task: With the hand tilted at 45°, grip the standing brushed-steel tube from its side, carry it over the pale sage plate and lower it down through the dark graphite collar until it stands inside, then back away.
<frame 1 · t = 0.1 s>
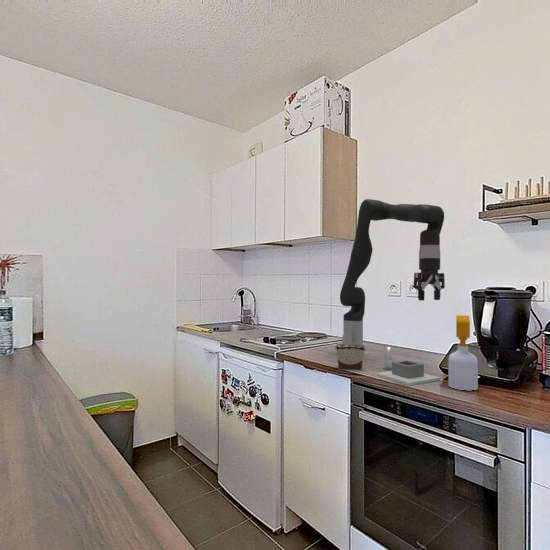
hand: (429, 300, 146), 29 cm above the countertop, tool pointing down, fingers open, 8 cm apart
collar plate: (407, 377, 145), on the countertop
soap bottle: (462, 388, 132), on the countertop
steel tube: (388, 369, 159), on the countertop
food container: (349, 369, 160), on the countertop
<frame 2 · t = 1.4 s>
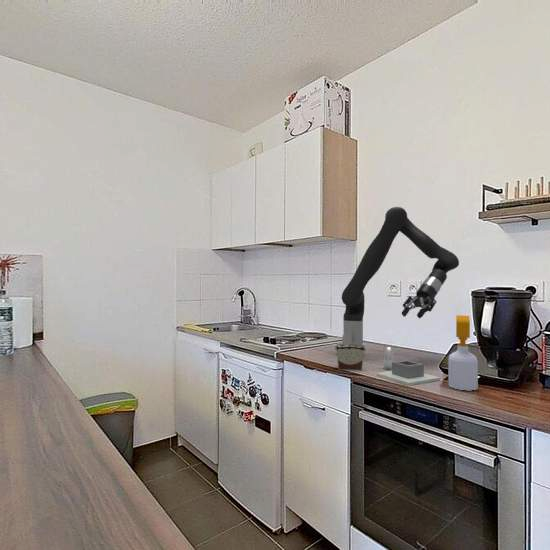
hand: (410, 316, 165), 21 cm above the countertop, tool tilted 45°, fingers open, 8 cm apart
nothing on the countertop moved.
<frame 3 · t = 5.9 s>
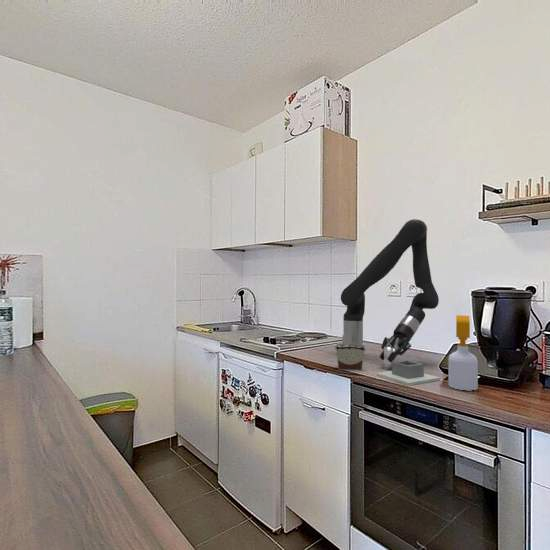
hand: (385, 359, 158), 4 cm above the countertop, tool tilted 45°, fingers closed on steel tube, 4 cm apart
steel tube: (388, 369, 159), on the countertop, touching gripper
everything else where it was.
when the fingers open (8 cm above the countertop, at t = 11.0 s): steel tube drops 3 cm, resting on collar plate.
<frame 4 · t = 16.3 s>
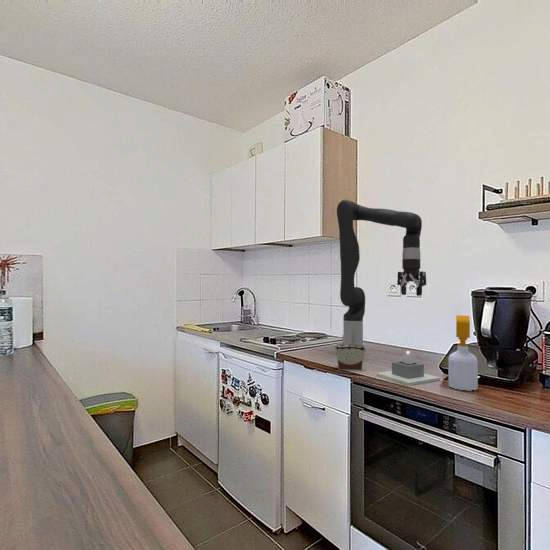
hand: (411, 295, 169), 30 cm above the countertop, tool pointing down, fingers open, 8 cm apart
steel tube: (408, 375, 145), point 1 cm above the countertop, touching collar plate
everything else where it was.
at the end: steel tube 0.1 cm off-centre on the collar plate, point 1.0 cm above the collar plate's base; steel tube tilted 0°; the gripper is holding nothing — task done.
